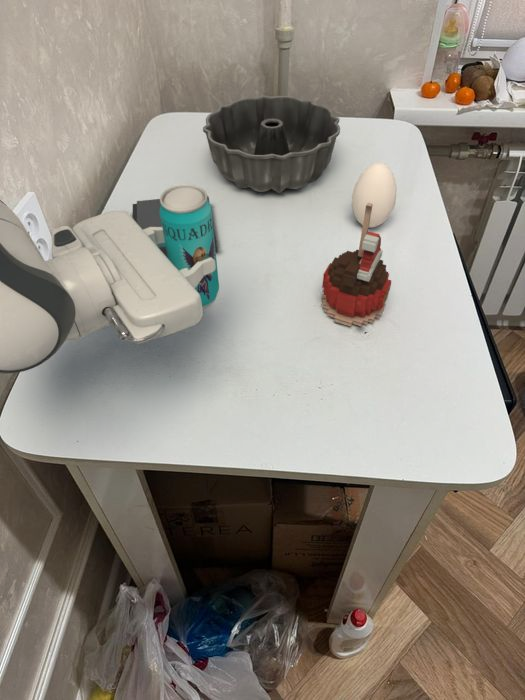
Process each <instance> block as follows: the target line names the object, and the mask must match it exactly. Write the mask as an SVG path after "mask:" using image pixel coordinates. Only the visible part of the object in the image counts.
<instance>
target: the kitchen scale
mask: <svg viewBox="0 0 525 700" xmlns="http://www.w3.org/2000/svg"><path fill="white" fill-rule="evenodd" d="M207 199H208V201H209V203H210V197H209V195H207ZM210 204H211V203H210ZM160 206H161V203H160V198H155V199H145V200H136V203H132V218H133V219H134V220H135V222H136V223H137V224H138V225H139V226H140V227H141V228H142V230H143V229H146V228H149V227H162V223H161V218H160V212H159V210H160ZM214 226H215V225H214V224H213V230H214V240H215V250H216V254H217V253H218V244H217V237H216V232H215V227H214ZM157 247H158V248H159V249H160V250H161V251H162V252H163V253H164V254H165V256H166V257H167V258H168V255H167V249H166V244H165V243H160V244H157Z"/></svg>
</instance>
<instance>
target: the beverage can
mask: <svg viewBox="0 0 525 700" xmlns="http://www.w3.org/2000/svg"><path fill="white" fill-rule="evenodd" d="M207 196H208V194H207V192H206V190H205V189H204V188H203V187H200V186H198V185H194V184H177V185H174V186H172V187H169V188H167V189H165V190H164V191H163V192H162V193H161V195H160V197H159V199H160V203H161V206H160V210H159V212H160V218H161V223H162V228H163V234H164V239H165V244H166V249H167V255H168V259H169V260H170V261H171V262H172V264H173V265H174V266H175V267H176V268H177V269H178V270H182V269H184V268H187V269H188V270H190V269H191V268H192V267H193V266H194V265H195V264H196V259H195V257H198V256H202V255H204V254H206V253H208V254H209V255H210V256H211V257H212V258H213V259H214V260H215V265H216V269H215V271H213V272H211V273H209V274H207V275H204V276H203V278H202V279H201V281H200V282H199V283H198V285H197V286H196V287H195V290H196V291H197V292H198V293H199V294H200V297H201V302H202V310H203V309H206V308H208V307H210V306H211V305H212V304H213V303H214V302H215V301H216V298H217V296H218V294H219V290H220V282H219V271H218V261H217V253H216V250H215V240H214V231H215V229H214V230H213V225H214V219H213V212H212V211H213V210H212V204H211V203H209V202H210V200H209V201H208V199H207Z"/></svg>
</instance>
